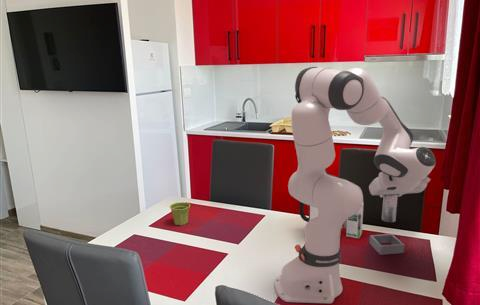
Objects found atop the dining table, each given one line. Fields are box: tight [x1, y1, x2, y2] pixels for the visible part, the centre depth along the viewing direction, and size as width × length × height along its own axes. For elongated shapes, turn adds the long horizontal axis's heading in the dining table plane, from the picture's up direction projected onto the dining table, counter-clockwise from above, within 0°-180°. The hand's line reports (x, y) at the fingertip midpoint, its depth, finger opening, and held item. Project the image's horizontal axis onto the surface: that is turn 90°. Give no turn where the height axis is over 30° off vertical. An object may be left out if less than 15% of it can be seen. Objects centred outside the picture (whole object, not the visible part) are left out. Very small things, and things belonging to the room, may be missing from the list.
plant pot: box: [169, 201, 191, 226], centre depth 178 cm, size 9×9×9 cm
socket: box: [368, 233, 406, 256], centre depth 151 cm, size 10×10×4 cm
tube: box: [381, 194, 398, 223], centre depth 147 cm, size 5×5×14 cm
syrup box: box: [345, 202, 364, 239], centre depth 162 cm, size 6×6×14 cm
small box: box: [341, 219, 347, 230], centre depth 171 cm, size 5×4×8 cm
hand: (389, 195), depth 147 cm, fingers closed on tube, 5 cm apart
